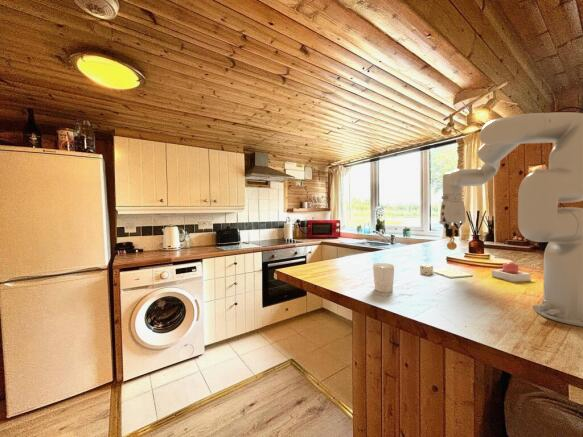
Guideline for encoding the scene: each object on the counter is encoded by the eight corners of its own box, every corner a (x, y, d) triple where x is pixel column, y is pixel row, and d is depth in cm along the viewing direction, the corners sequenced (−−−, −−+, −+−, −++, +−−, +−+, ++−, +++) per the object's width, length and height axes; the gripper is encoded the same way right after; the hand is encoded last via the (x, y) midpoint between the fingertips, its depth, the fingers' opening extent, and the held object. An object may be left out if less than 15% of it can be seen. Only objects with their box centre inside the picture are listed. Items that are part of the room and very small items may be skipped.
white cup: (373, 292, 92) (373, 267, 92) (373, 286, 99) (372, 262, 99) (395, 294, 90) (395, 268, 89) (393, 287, 97) (392, 263, 97)
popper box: (513, 282, 99) (513, 275, 99) (491, 276, 108) (491, 270, 108) (530, 280, 100) (530, 273, 100) (507, 275, 109) (507, 268, 109)
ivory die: (427, 275, 113) (427, 266, 113) (419, 273, 117) (419, 264, 116) (432, 273, 115) (432, 265, 115) (424, 272, 119) (424, 263, 119)
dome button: (512, 275, 101) (512, 263, 101) (499, 272, 106) (499, 261, 106) (521, 274, 102) (521, 263, 102) (509, 271, 107) (509, 260, 107)
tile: (450, 278, 107) (450, 276, 107) (430, 271, 119) (430, 270, 119) (472, 276, 109) (472, 274, 109) (451, 269, 121) (451, 268, 121)
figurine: (442, 249, 117) (437, 226, 115) (452, 245, 118) (447, 222, 116) (456, 253, 109) (451, 229, 107) (467, 248, 110) (462, 224, 108)
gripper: (443, 198, 107) (443, 238, 108) (474, 197, 110) (474, 236, 110) (431, 199, 114) (431, 236, 115) (460, 198, 117) (460, 235, 118)
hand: (452, 236), depth 113 cm, fingers closed on figurine, 2 cm apart
